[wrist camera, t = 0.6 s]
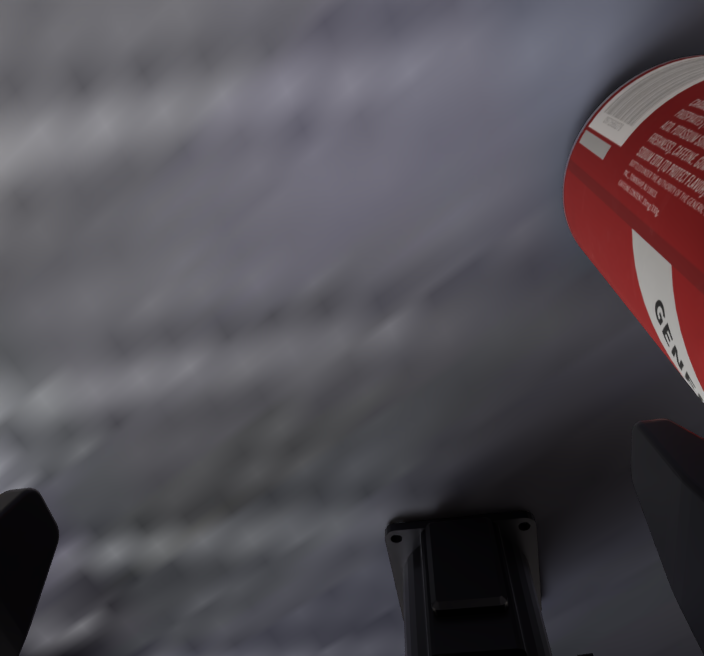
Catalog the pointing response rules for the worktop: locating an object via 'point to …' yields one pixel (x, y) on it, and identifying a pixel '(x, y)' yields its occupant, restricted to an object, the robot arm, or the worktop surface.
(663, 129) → the soda can
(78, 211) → the worktop surface
